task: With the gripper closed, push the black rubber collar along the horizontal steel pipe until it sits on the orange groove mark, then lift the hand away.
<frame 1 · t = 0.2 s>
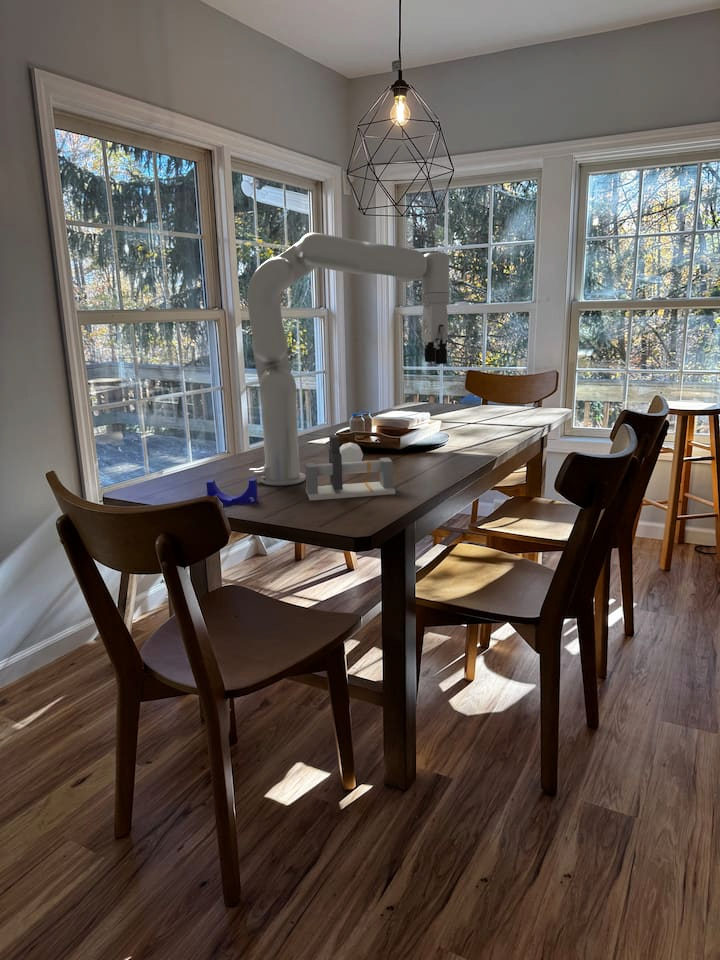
hand: (435, 362, 189), 31 cm above the table, fingers open, 9 cm apart
geometric ball: (350, 468, 203), on the table
blue pipe cradle: (232, 504, 168), on the table
pipe stand: (349, 492, 175), on the table
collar: (335, 461, 172), point 8 cm above the table, slide at -3.5 cm
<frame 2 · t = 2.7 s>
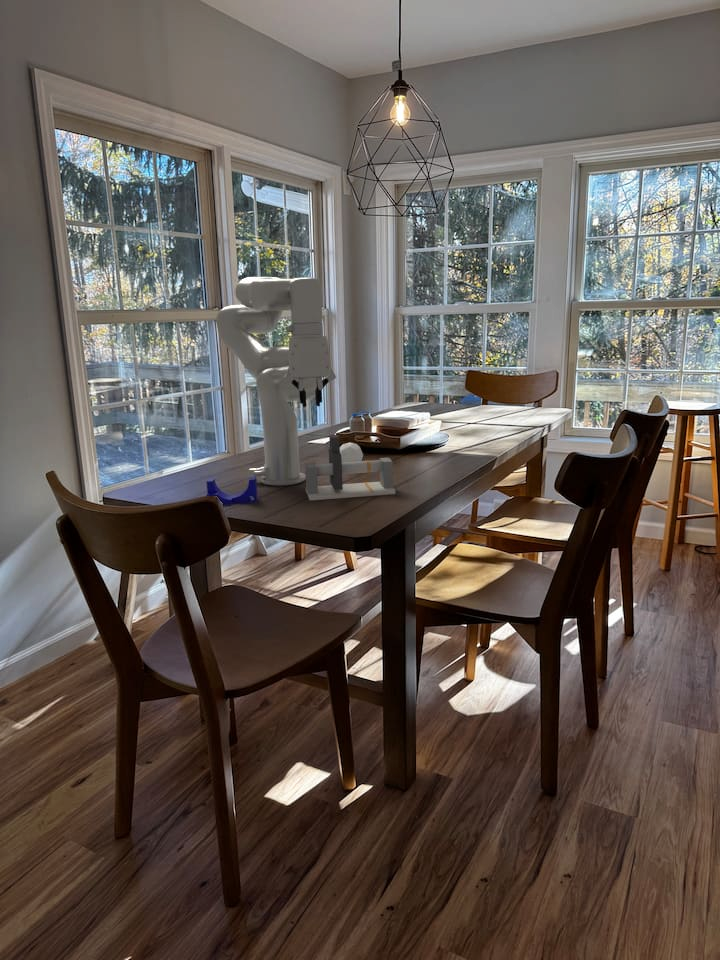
hand: (311, 405, 168), 23 cm above the table, fingers closed
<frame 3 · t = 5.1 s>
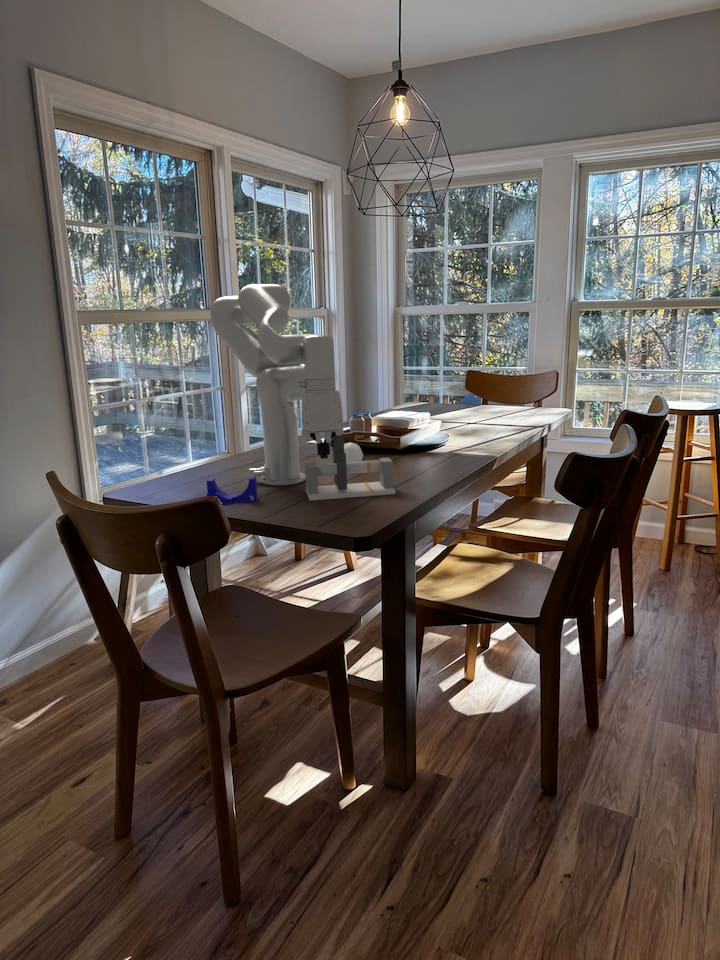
hand: (323, 457, 171), 10 cm above the table, fingers closed
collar: (339, 461, 172), point 8 cm above the table, slide at -2.4 cm, touching gripper
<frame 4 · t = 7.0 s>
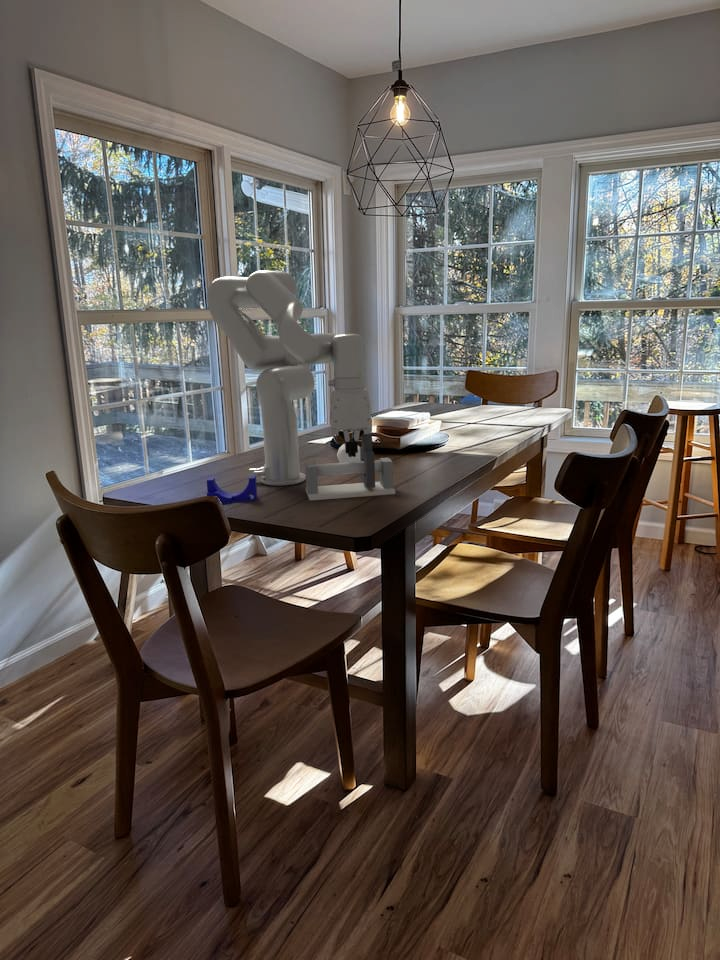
hand: (351, 455, 172), 10 cm above the table, fingers closed
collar: (367, 459, 173), point 8 cm above the table, slide at 4.9 cm, touching gripper
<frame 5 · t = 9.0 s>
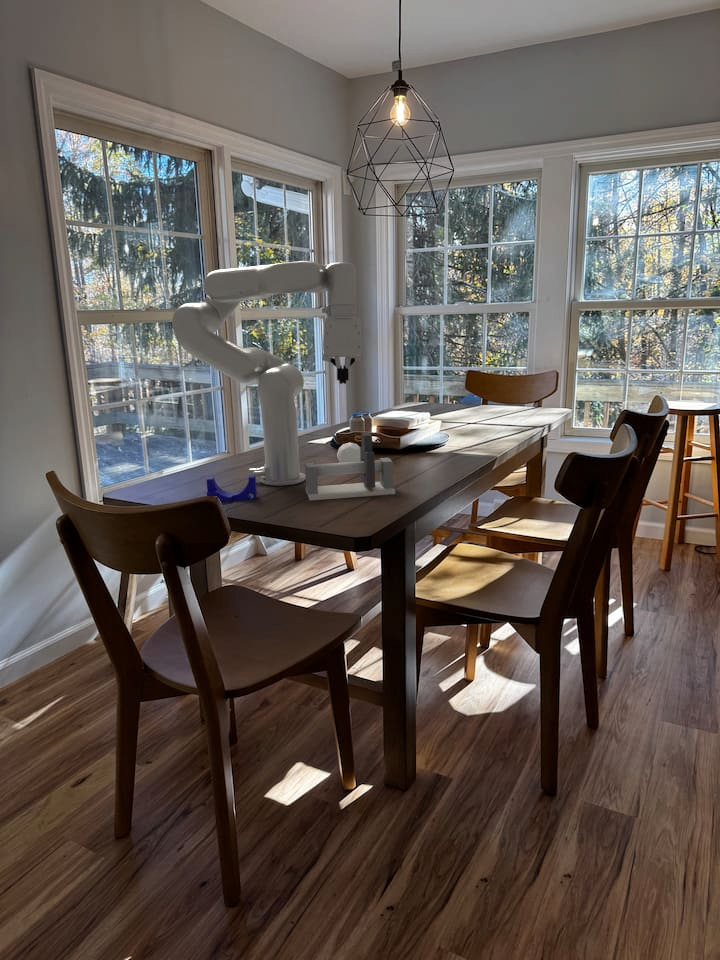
hand: (342, 383, 179), 27 cm above the table, fingers closed
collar: (367, 459, 173), point 8 cm above the table, slide at 4.9 cm
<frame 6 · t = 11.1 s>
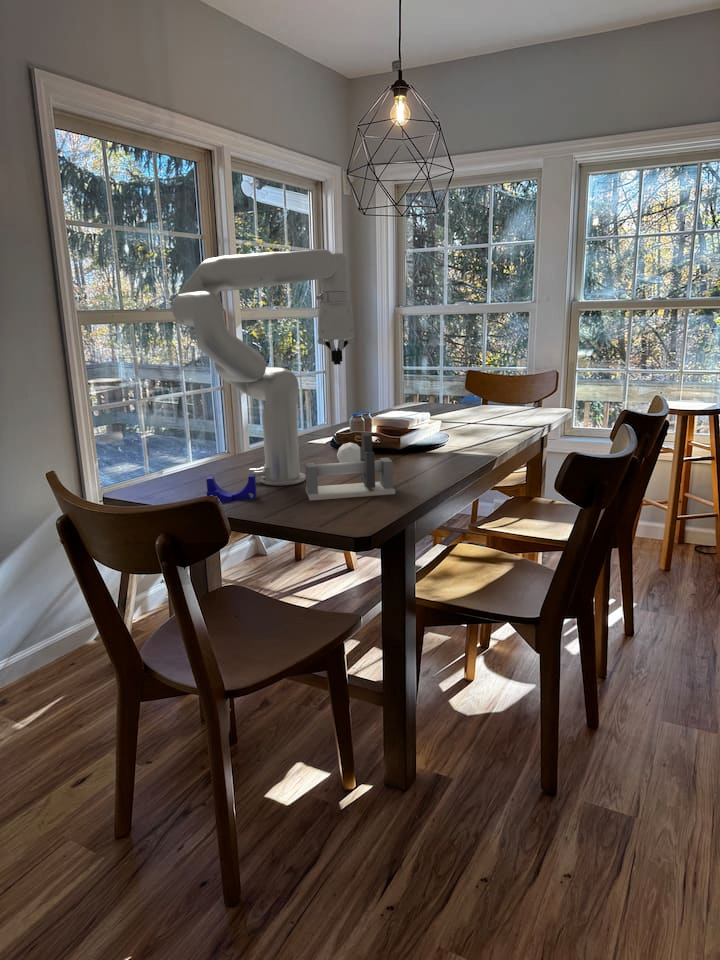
hand: (337, 364, 194), 31 cm above the table, fingers closed
at the end: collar slide at 4.9 cm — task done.
